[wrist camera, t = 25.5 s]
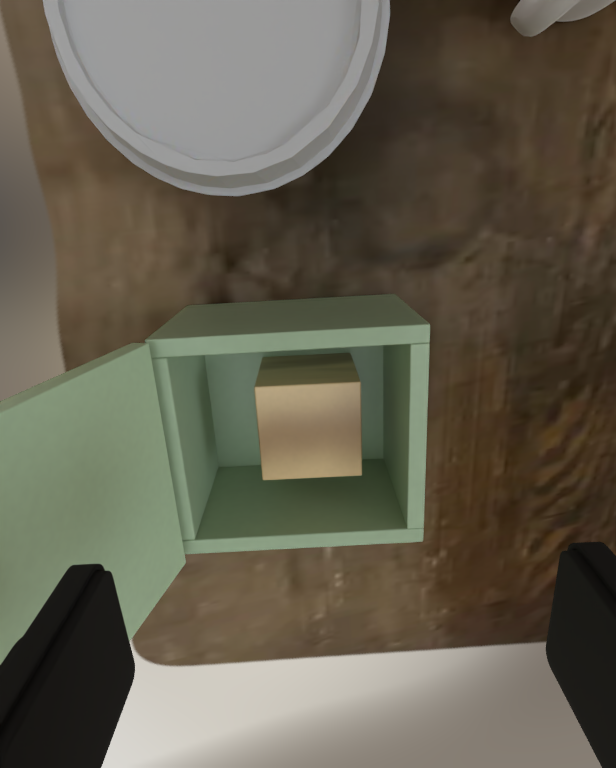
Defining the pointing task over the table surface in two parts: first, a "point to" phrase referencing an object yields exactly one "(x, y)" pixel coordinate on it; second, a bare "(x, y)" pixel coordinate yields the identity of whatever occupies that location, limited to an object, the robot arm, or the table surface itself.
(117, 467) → the lid
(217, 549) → the chest
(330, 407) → the block
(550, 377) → the table surface
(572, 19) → the mug
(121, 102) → the disposable coffee cup
